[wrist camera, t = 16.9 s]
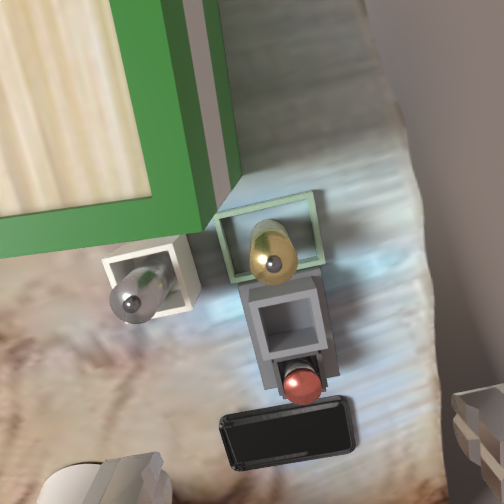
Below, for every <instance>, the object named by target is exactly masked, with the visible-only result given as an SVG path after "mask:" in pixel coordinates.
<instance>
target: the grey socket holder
mask: <svg viewBox="0 0 504 504" xmlns="http://www.w3.org/2000/svg"><path fill="white" fill-rule="evenodd" d="M238 290H239V294H240V298H241V302H242V306H243V309H244V313H245V317H246V321H247V325H248V328H249V332H250V336H251V340H252V344H253V347H254V351H255V355H256V359H257V363H258V366H259V370H260V374H261V378H262V382H263V385H264V389H265V390H267V389H272V388H277V387H278V390H279V395H280V396H281V395H282V396H283V399H288V398H287V397H286V395H285V391H284V379H285V375H284V363H285V361H286V360H291V359H296V358H301V357H306V356H308V357H309V358H310V359H311V360H312V362H313V365H314V369H315V372H316V373H317V375H318V376H319V378H320V382H321V385H322V392H326V387H328V384H327V379H326V378H330V377H335V376H340V373H339V367H338V362H337V356H336V351H335V346H334V340H333V335H332V329H331V324H330V319H329V313H328V308H327V302H326V297H325V292H324V286H323V281H322V275H321V270H320V268H319V266H318V265H317V266H312V267H308V268H303V269H299V270H296V272H295V274H294V275H293V277H292V278H291V279H290V280H288V281H287V282H285V283H283V284H280V285H266V284H264V283H261V282H260V281H258V280H257V279H252V280H247V281H243V282H238Z"/></svg>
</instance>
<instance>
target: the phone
mask: <svg viewBox="0 0 504 504" xmlns="http://www.w3.org/2000/svg"><path fill="white" fill-rule="evenodd" d="M219 431H220V434H221V437H222V440H223V444H224V447H225V450H226V453H227V456H228V460H229V463H230V466H231V468H232V469H234V470H236V471H246V470H253V469H259V468H265V467H271V466H277V465H283V464H289V463H295V462H301V461H307V460H313V459H319V458H325V457H331V456H338V455H344V454H349V453H351V452H353V450H354V449H355V446H356V444H355V439H354V433H353V427H352V421H351V415H350V409H349V405H348V403H347V400H346V398H345V397H343V396H340V395H334V396H329V397H323V398H318V399H317V400H316V401H314V402H313V403H310V404H307V405H298V404H295V403H290V404H284V405H279V406H273V407H267V408H262V409H256V410H251V411H245V412H239V413H234V414H228V415H225V416H223V417H222V418H221V419H220V422H219Z"/></svg>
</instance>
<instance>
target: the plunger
mask: <svg viewBox="0 0 504 504" xmlns="http://www.w3.org/2000/svg"><path fill="white" fill-rule="evenodd" d="M284 375H285V379H284V391H285V395H286V397H287V398H288V399H289V400H290V401H291V402H293V403H295V404H298V405H307V404H310V403H313V402H314V401H316V400H317V399H318V398H319V396H320V395H321V392H322V385H321V382H320V378H319V376H318V375H317V373H316V372H315V369H314V365H313V362H312V360H311V359H310V358H309V357H308V356H306V357H301V358H296V359H291V360H286V361H285V363H284Z"/></svg>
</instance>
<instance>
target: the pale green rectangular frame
mask: <svg viewBox="0 0 504 504" xmlns="http://www.w3.org/2000/svg"><path fill="white" fill-rule="evenodd" d="M304 199H307V203H308V208H309V214H310V219H311V225H312V230H313V235H314V241H315V246H316V252H317V256H316V257H312V258H307V259H303V260H298V266H297V270H299V269H303V268H308V267H312V266H317V265H322V264H326V262H325V257H324V251H323V246H322V240H321V234H320V229H319V223H318V218H317V212H316V207H315V201H314V195H313V192H312V191H311V190H310V191H306V192H302V193H297V194H293V195H289V196H285V197H280V198H276V199H272V200H267V201H263V202H259V203H254V204H250V205H246V206H241V207H237V208H233V209H229V210H224V211H220V212H216V213H215V215H214V216H213V220H214V224H215V227H216V231H217V235H218V238H219V242H220V246H221V250H222V253H223V257H224V261H225V265H226V268H227V272H228V276H229V279H230V283H231V284H234V283H238V282H243V281H247V280H252V279H256V278H255V277H254V276H253V274H252V272H251V271H247V272H243V273H238V274H235V271H234V268H233V264H232V260H231V256H230V252H229V249H228V245H227V241H226V237H225V233H224V230H223V226H222V222H221V218H226V217H230V216H234V215H239V214H243V213H247V212H252V211H256V210H260V209H265V208H269V207H273V206H278V205H282V204H286V203H291V202H295V201H299V200H304Z"/></svg>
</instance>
